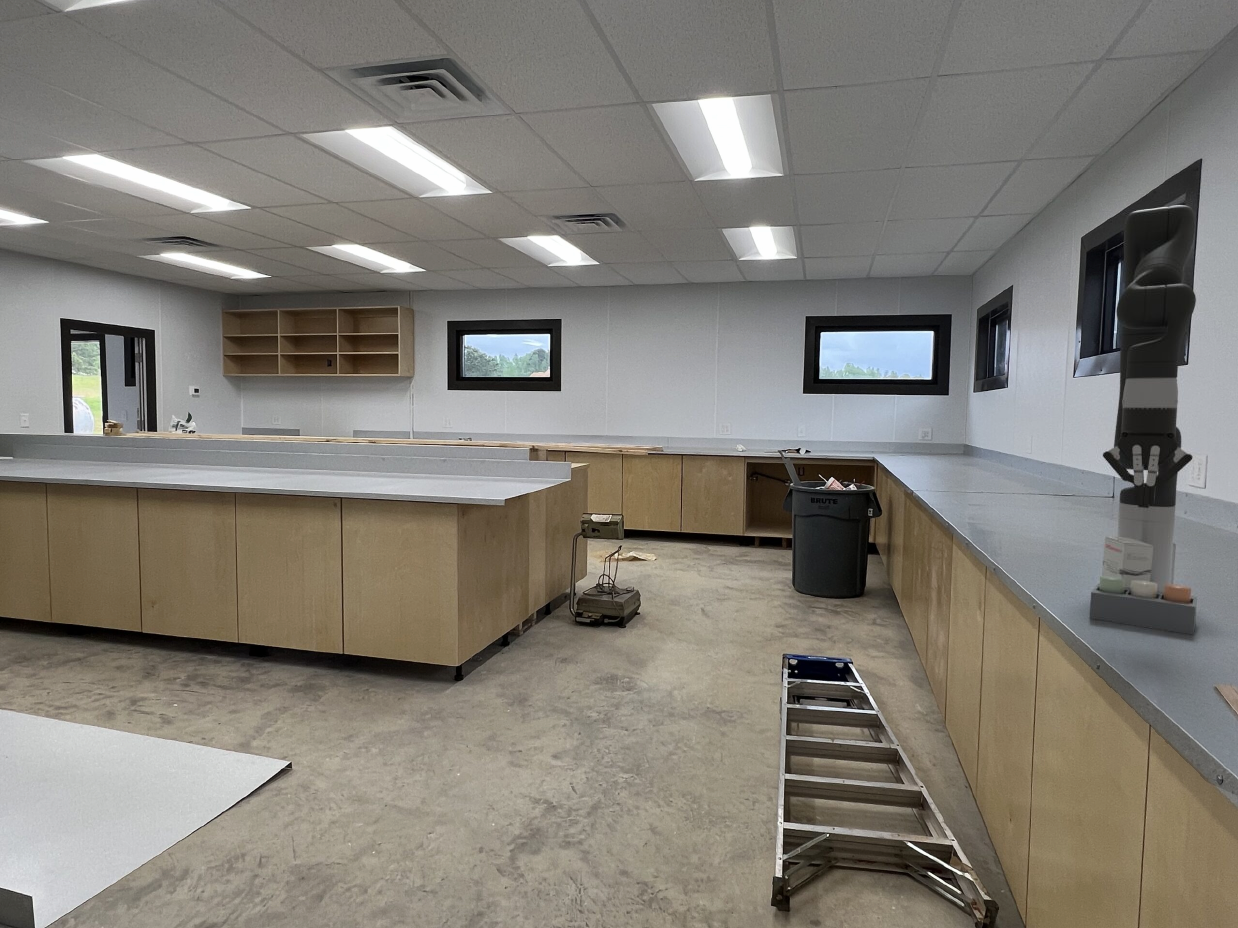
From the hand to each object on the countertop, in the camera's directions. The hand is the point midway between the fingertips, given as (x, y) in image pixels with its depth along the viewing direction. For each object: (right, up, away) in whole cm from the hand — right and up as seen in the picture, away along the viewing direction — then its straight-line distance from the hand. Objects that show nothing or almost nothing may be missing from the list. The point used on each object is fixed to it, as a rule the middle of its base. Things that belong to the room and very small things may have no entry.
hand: (1143, 507), depth 126 cm
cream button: (-1, -16, -1) cm, 16 cm away
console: (-1, -19, -1) cm, 19 cm away
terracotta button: (+3, -16, -4) cm, 17 cm away
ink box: (+4, -19, +12) cm, 23 cm away
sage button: (-4, -15, +2) cm, 16 cm away
